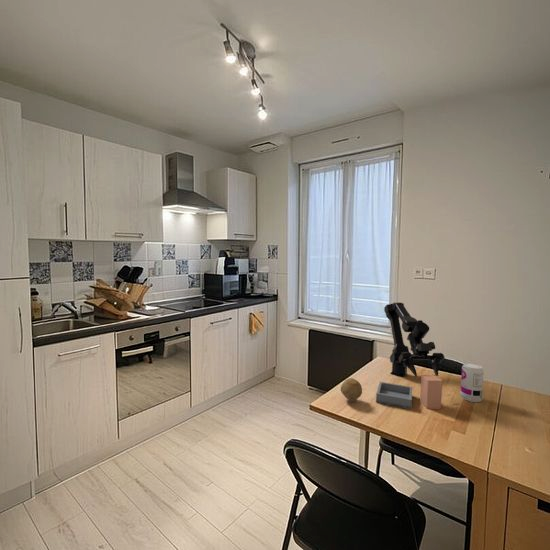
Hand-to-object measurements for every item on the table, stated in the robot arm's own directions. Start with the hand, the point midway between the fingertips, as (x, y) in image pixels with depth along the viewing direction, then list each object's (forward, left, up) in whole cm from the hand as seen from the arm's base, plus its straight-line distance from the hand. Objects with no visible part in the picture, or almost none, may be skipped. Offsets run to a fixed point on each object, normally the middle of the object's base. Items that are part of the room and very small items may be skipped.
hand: (426, 375), depth 140 cm
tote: (-10, -9, -11) cm, 17 cm away
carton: (+3, -3, -11) cm, 12 cm away
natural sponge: (-22, -25, -11) cm, 35 cm away
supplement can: (+13, +17, -11) cm, 24 cm away
